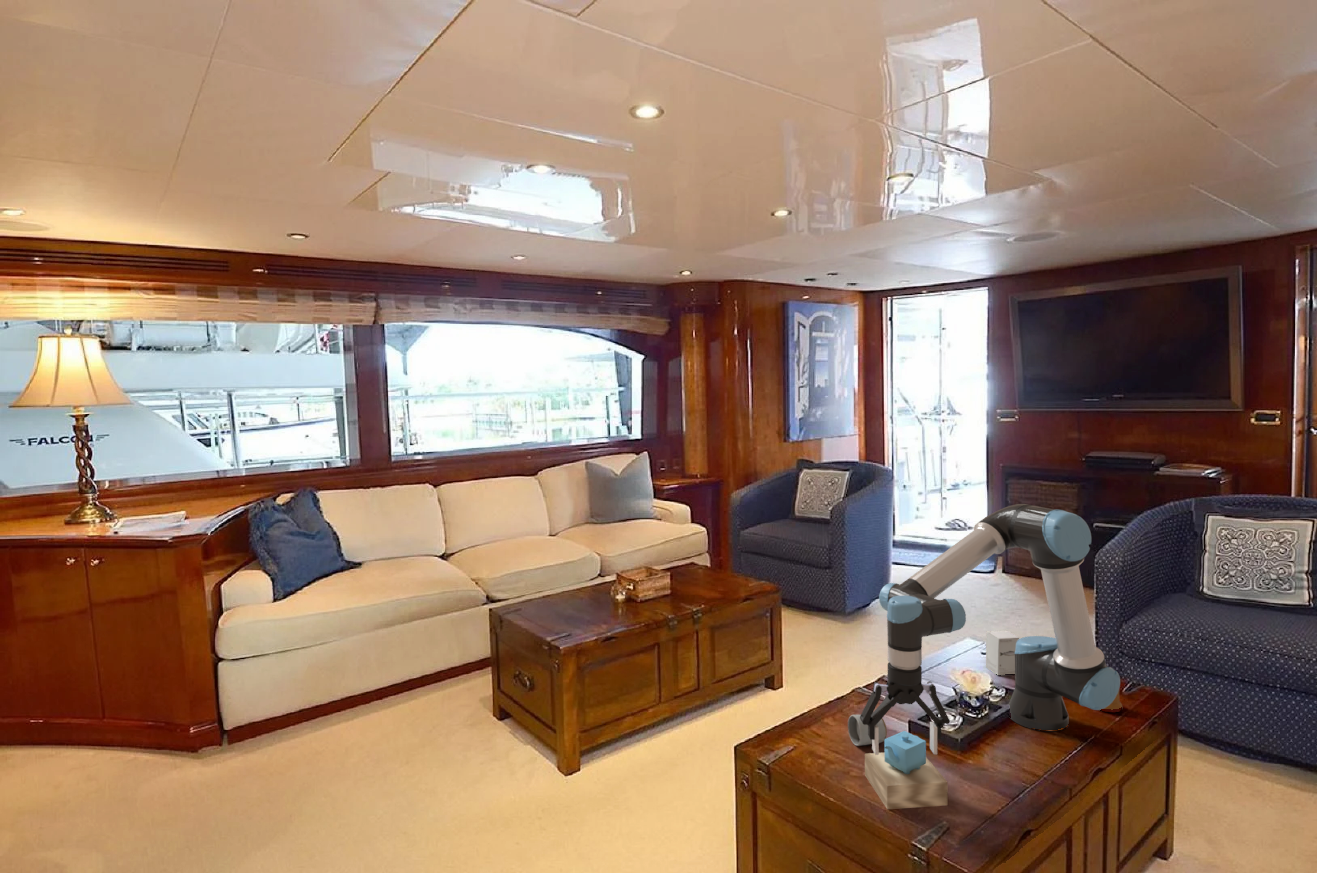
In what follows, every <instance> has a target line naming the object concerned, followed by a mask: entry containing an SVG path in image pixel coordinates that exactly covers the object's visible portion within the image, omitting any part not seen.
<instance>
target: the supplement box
mask: <svg viewBox="0 0 1317 873" xmlns="http://www.w3.org/2000/svg"><path fill="white" fill-rule="evenodd" d="M985 634H986V635H985V636H986V638H985V640H986V641H985V668H986V669H987V670H989V671H990V670H991V671H992V672H991V673H993V674H994V675H996V674H997V675H1001V676H1006V675H1005V674H1015V650H1016V642H1017V641H1018V640H1019V639H1020V637H1019V636H1018V635H1016V634H1015V633H1012V632H1011V631H1009V630H1006V629H1005V630H990V631H989V630H987V631H986V633H985ZM997 675H996V676H997Z"/></svg>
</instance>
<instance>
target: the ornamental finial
mask: <svg viewBox="0 0 1317 873" xmlns="http://www.w3.org/2000/svg"><path fill="white" fill-rule="evenodd" d="M1121 707H1122V708H1123V704H1122V702H1121V701H1120V690H1119V691H1118V694H1117V695H1116V697H1115V699H1114V700H1113V702H1112V703H1111V704H1110V705H1109V706H1107V707H1106V708H1104V709H1111V710H1113V709H1119V708H1121Z"/></svg>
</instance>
